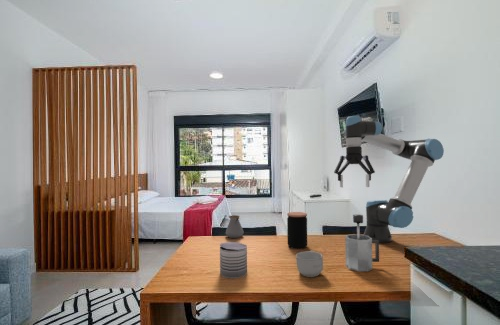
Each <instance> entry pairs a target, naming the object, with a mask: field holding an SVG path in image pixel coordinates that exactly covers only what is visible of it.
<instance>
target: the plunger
mask: <svg viewBox="0 0 500 325" xmlns="http://www.w3.org/2000/svg"><path fill="white" fill-rule="evenodd" d="M352 217H353V218H352V220H353V223H354V224H356V234H357V240H360V235H361V232H360V224H363V223H364V215H363V214H356V213H355V214H353V215H352Z"/></svg>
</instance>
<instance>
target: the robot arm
mask: <svg viewBox="0 0 500 325" xmlns="http://www.w3.org/2000/svg"><path fill="white" fill-rule="evenodd" d="M382 131H383V125H382V123H381V122H380V121H377V120H376V121H375V120H373V121H372V120H362V116H359V115H353V116H348V117H347V118H346V119H345V129H344V135H345V144H346V149H345V150H346V151H345V152H346V153H345V154H346V155H340V157H339V161H338V163H337V165H336V167H335V169H334V171H333V172H334V174H335V175H337V181H339V187H340V188H344V186H343V185H344V184H343V182H344V180H343V179H344V178H343V173H344V171H345V170H346V169H347V168H348V166H349V165H359V166H360V167H361V168H362V170H364V172H365V173H366V174H365V187H366V188H370V181H371V180H372V174H375V173H376V171H375V169H374V167H373V166H372V163H371V161H370V160H369V155H363V154H362V152H363V150H362V146H363V145H362V142H364V143H367V144H369V145H372V146H376V147H378V148H381V149H384V150H387V151H389V152H391V153H392V154H393V155H395V156H398V157H400V158H404V159H407V160H410V164H409V166H408V167H407V170H406V171H405V175H404V176H403V178H402V180H401V182H400V184H399V187H398V188H397V191H396V193H395V194H394V196H393V197H390V198H389V200H387V199H385V200H383V199H382V200H378V199H377V200H368V201H366V206H365V209H366V210H365V213H366V215H365V216H366V218H365V219H366V225H365V226H366V227H365V229H364V233H363V235H366V236H369V237H371V238H372V240H378V241H379V244H380V243H381V244H385V243H391V242H392V241H393V237H392V234H391V232H390V229H389V226H390V227H391V226H392V227H393V228H398V229H405V228H407V227H408V226H410V225H411V223H412V222H413V220H414V212H413V210H412V209H413V207H412V202H413V201H414V198H415V196H416V194H417V192H418V189H419V188H420V185H421V183H422V181H423V179H424V177H425V175H426V172H427V170H428V168H429V167H432V166H433V165H434V163H435V162H436V161H437V160H440V159H442V158H443V157H444V151H445V150H444V146H443V143H442V142H441V141H440V140H438V139H436V138H427V139H417V140H403V139H397V138H394V137H391V136H388V135H385V134H382ZM345 160H346V162H345V164H344V165H343V163H344V161H345ZM362 160H363V161H364V162H365V164H364V162H363V161H362ZM342 165H343V166H342Z"/></svg>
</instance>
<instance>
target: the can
mask: <svg viewBox="0 0 500 325" xmlns="http://www.w3.org/2000/svg"><path fill="white" fill-rule="evenodd" d="M219 271H220V273H219V274H220V276H221V277H222V278H226V279H240V278H243V277H245V276H246V275H247V273H248V245H247V244H244V243H241V242H236V241H235V242H233V241H227V242H221V243H220V244H219Z"/></svg>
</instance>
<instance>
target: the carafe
mask: <svg viewBox="0 0 500 325" xmlns="http://www.w3.org/2000/svg"><path fill="white" fill-rule="evenodd" d="M344 238H345V243H344V244H345V246H344V247H345V267H346V268H347V269H348V270H351V271H353V272H354V271H355V272H361V273H363V272H364V273H365V272H368V273H369V272H370V271H372V270H373V263H379V262H380V243H379V241H378V240H372V238H371V237H369V236H366V235H364V234H360V240H357V233H356V234H355V233H353V234H347V235H345V236H344ZM373 244H374V249H375V250H374V252H375V254H374V256H375V257H374V258H373Z"/></svg>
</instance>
